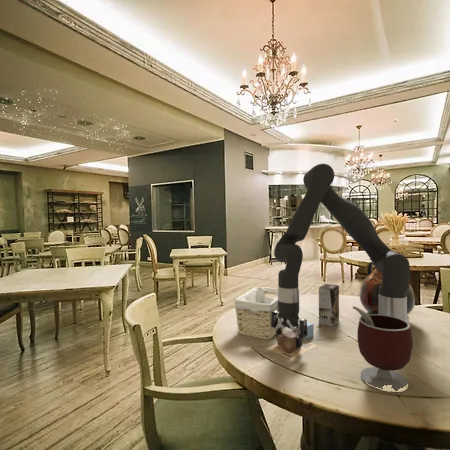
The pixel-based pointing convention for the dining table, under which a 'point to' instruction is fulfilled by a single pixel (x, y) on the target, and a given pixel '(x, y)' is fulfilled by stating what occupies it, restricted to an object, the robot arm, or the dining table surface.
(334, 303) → the coffee box
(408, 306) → the amphora vase
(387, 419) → the dining table surface
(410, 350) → the mate gourd
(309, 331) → the slate cube
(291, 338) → the walnut block
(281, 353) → the letter
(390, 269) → the robot arm
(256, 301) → the storage basket
